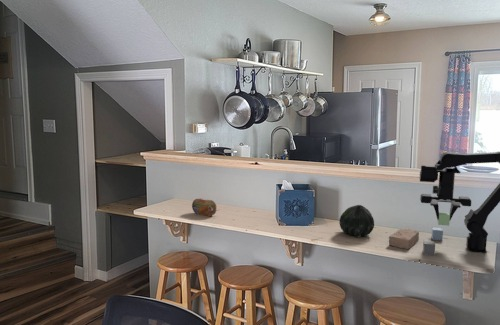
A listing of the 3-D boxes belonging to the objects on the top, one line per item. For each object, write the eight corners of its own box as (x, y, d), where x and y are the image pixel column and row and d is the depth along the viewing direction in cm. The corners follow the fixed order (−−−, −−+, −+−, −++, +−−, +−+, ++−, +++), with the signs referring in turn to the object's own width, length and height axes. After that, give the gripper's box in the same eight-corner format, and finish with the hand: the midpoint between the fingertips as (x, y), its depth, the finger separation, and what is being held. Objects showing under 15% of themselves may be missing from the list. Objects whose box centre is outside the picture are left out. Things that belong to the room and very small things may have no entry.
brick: (400, 236, 196) (400, 226, 195) (419, 239, 191) (420, 229, 190) (388, 246, 182) (388, 236, 182) (408, 250, 177) (409, 239, 177)
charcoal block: (433, 252, 175) (434, 241, 174) (434, 255, 171) (435, 244, 170) (422, 251, 176) (423, 240, 175) (423, 254, 172) (424, 243, 172)
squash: (348, 215, 209) (342, 196, 198) (379, 221, 201) (375, 202, 191) (339, 240, 201) (332, 222, 191) (371, 247, 194) (366, 228, 183)
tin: (191, 213, 233) (191, 197, 231) (195, 212, 235) (195, 196, 234) (213, 217, 224) (213, 201, 223) (217, 216, 227) (217, 200, 225)
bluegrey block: (441, 237, 193) (442, 228, 192) (442, 240, 189) (443, 230, 189) (431, 237, 194) (432, 227, 194) (432, 239, 191) (433, 229, 190)
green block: (447, 223, 182) (448, 212, 181) (449, 225, 178) (450, 215, 178) (437, 222, 183) (438, 211, 182) (438, 224, 179) (439, 214, 179)
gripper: (468, 181, 183) (465, 217, 185) (420, 178, 188) (418, 213, 191) (473, 186, 172) (469, 224, 175) (422, 183, 178) (419, 220, 180)
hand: (443, 220), depth 180 cm, fingers closed on green block, 4 cm apart
